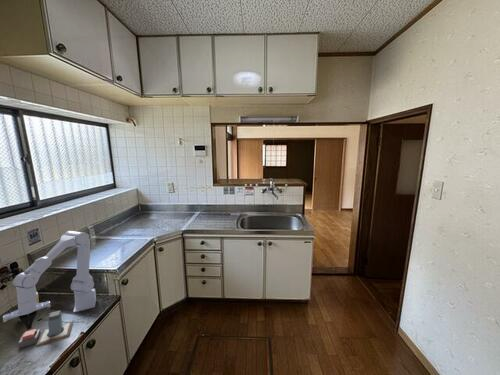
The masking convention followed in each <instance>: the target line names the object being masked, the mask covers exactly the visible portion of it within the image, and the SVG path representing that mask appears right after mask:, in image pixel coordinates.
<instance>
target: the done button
mask: <svg viewBox="0 0 500 375" xmlns="http://www.w3.org/2000/svg"><path fill="white" fill-rule="evenodd" d="M36 330H37V328H34V329H29V330H27V331H25V332H24V333H23V334H24V335H23V334H22V335H23V337H22V336H21V337H22V338H23V340H26V339H30V338H33V337H35V335H36V333H37V331H36Z"/></svg>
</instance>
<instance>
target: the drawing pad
mask: <svg viewBox="0 0 500 375" xmlns="http://www.w3.org/2000/svg"><path fill="white" fill-rule="evenodd" d="M73 323H74V322H73V321H68V322H66V323H62V330H61V333H58V334H55V335H52V336H49V328H48V327H47V328H45V329H42V331H41V332H40V337H39V339H38V341H37V343H36V347H39V346H43V345H46V344H48V343H53V342H56V341H59V340H63V339H66V338H69V337H70V334H71V331H72V326H73ZM68 336H69V337H68ZM65 337H66V338H65ZM62 338H63V339H62ZM52 341H53V342H52Z"/></svg>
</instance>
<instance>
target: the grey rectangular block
mask: <svg viewBox="0 0 500 375" xmlns="http://www.w3.org/2000/svg"><path fill="white" fill-rule="evenodd" d="M62 316H63V315H62V312H61V310H57V311H52V312H50V313H49V316H48V321H47V324H48V325H47V326H48V327H47V328H49V336H52V335H55V334H58V333H61V330H62V324H63V320H62V319H63V318H62Z"/></svg>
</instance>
